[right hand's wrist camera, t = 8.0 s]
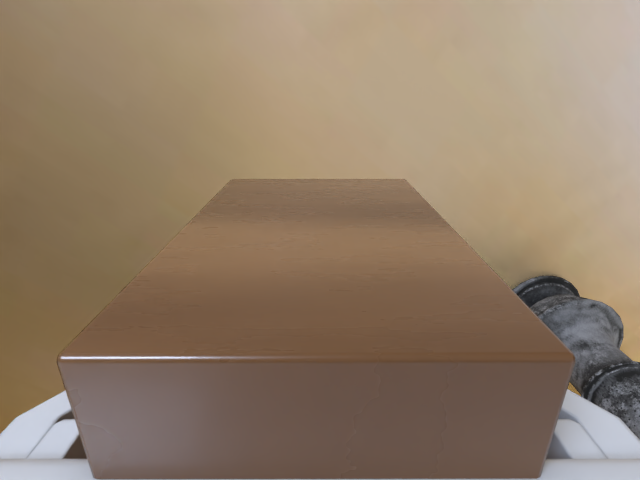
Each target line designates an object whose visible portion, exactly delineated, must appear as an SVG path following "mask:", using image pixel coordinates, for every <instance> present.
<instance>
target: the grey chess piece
mask: <svg viewBox="0 0 640 480" xmlns="http://www.w3.org/2000/svg"><path fill="white" fill-rule="evenodd" d="M513 291H514V292H515V293H516V294H517V296H518V297H519V298H520V299H521V300H522V301H523V302H524V303H525V304H526V305H527V306H528V307H529V308H530V309H531V310H532V311H533V312H534V313H535V314H536V315H537V316H538V317H539V318H540V319H541V320H542V321H543V322H544V323H545V325H546V326H547V327H548V328H549V329H550V330H551V331H552V332H553V333H554V334H555V335H556V336H557V337H558V338H559V339H560V340H561V341H562V342H563V343H564V344H565V345H566V346H567V347H568V348H569V349H570V350H571V351H572V352H573V354H574V356H575V361H576V362H575V365H574V368H573V372H572V375H571V378H570V383H571V384H572V385H573V386H574V387H575V388H576V390H577V391H578V392H579V393H580V394H581V397H583V398H584V399H586V400H588V401H590V402H592V403H593V404H595V405H597V406H599V407H601V408H602V409H604V410H606V411H608V412H610V413H611V414H613V415H615V416H617V417H619V418H620V419H621V420H622V421H623V422H624V423H625V424H626V425H627V427H628V428H629V429H630V430H631V431H632V432H633V433H634V434H635V435H636V436H637V438H638V439H639V440H640V362H635V361H632V360H631V359H630V358H629V357H628V356H626V355H625V354H624V353H623V352H622V351H621V350H620V346H621V343H622V340H623V324H622V321H621V318H620V316H619V315H618V314H617V313H616V312H615V311H614V309H613V308H611V307H610V306H608V305H606V304H604V303H602V302H599V301H595V300H591V299H587V298H582V297H580V296H579V293H578V291H577V289H576V288H575V287H574V286H573V285H572V284H571V283H570V282H568V281H566V280H565V279H563V278H560V277H555V276H540V277H536V278H531V279H529V280H527V281H525V282H523V283H521V284H519V285H518V286H517V287H516V288H514V289H513Z"/></svg>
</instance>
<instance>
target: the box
mask: <svg viewBox="0 0 640 480" xmlns="http://www.w3.org/2000/svg"><path fill="white" fill-rule="evenodd" d="M575 362H576V361H575V356H574V354H573V352H572V351H571V350H570V349H569V348H568V347H567V346H566V345H565V344H564V343H563V342H562V341H561V340H560V339H559V338H558V337H557V336H556V335H555V334H554V333H553V332H552V331H551V330H550V329H549V328H548V327H547V326H546V325H545V323H544V322H543V321H542V320H541V319H540V318H539V317H538V316H537V315H536V314H535V313H534V312H533V311H532V310H531V309H530V308H529V307H528V306H527V305H526V304H525V303H524V302H523V301H522V300H521V299H520V298H519V297H518V296H517V294H516V293H515V292H514V291H513V290H512V289H511V288H510V287H509V286H508V285H507V284H506V283H505V282H504V281H503V280H502V279H501V278H500V277H499V276H498V275H497V274H496V273H495V272H494V271H493V270H492V269H491V268H490V267H489V266H488V264H487V263H486V262H485V261H484V260H483V259H482V258H481V257H480V256H479V255H478V254H477V253H476V252H475V251H474V250H473V249H472V248H471V247H470V246H469V245H468V244H467V243H466V242H465V241H464V240H463V239H462V238H461V237H460V235H459V234H458V233H457V232H456V231H455V230H454V229H453V228H452V227H451V226H450V225H449V224H448V223H447V222H446V221H445V220H444V219H443V218H442V217H441V216H440V215H439V214H438V213H437V212H436V211H435V210H434V209H433V208H432V207H431V205H430V204H429V203H428V202H427V201H426V200H425V199H424V198H423V197H422V196H421V195H420V194H419V193H418V192H417V191H416V190H415V189H414V188H413V187H412V186H411V185H410V184H409V183H408V182H407V181H406V180H405V179H232V180H230V181H229V182H228V183H227V184H226V185H225V186H224V187H223V188H222V189H221V190H220V191H219V192H218V193H217V194H216V195H215V196H214V197H213V198H212V200H211V201H210V202H209V203H208V204H207V205H206V206H205V207H204V208H203V209H202V210H201V211H200V212H199V213H198V214H197V215H196V216H195V217H194V218H193V219H192V220H191V221H190V222H189V223H188V224H187V225H186V226H185V227H184V228H183V229H182V230H181V231H180V232H179V233H178V234H177V235H176V236H175V237H174V238H173V239H172V240H171V241H170V242H169V243H168V244H167V245H166V246H165V247H164V248H163V249H162V250H161V251H160V252H159V253H158V254H157V255H156V256H155V257H154V258H153V259H152V260H151V261H150V262H149V263H148V264H147V265H146V266H145V267H144V269H143V270H142V271H141V272H140V273H139V274H138V275H137V276H136V277H135V278H134V279H133V280H132V281H131V282H130V283H129V284H128V285H127V286H126V287H125V288H124V289H123V290H122V291H121V292H120V293H119V294H118V295H117V296H116V297H115V298H114V299H113V300H112V301H111V302H110V303H109V304H108V305H107V306H106V307H105V308H104V309H103V310H102V311H101V312H100V313H99V314H98V315H97V316H96V317H95V318H94V319H93V320H92V321H91V322H90V323H89V324H88V325H87V326H86V327H85V328H84V329H83V330H82V331H81V332H80V333H79V334H78V335H77V336H76V338H75V339H74V340H73V341H72V342H71V343H70V344H69V345H68V346H67V347H66V348H65V349H64V350H63V351H62V352H61V353H60V354H59V355H58V358H57V365H58V368H59V371H60V374H61V377H62V381H63V384H64V387H65V390H66V393H67V396H68V400H69V403H70V406H71V409H72V412H73V416H74V419H75V422H76V425H77V428H78V431H79V435H80V438H81V441H82V444H83V447H84V450H85V454H86V457H87V460H88V463H89V466H90V469H91V473H92V476H93V478H95V479H537V478H539V477H541V473H542V470H543V467H544V464H545V460H546V457H547V454H548V450H549V447H550V444H551V441H552V437H553V434H554V431H555V427H556V424H557V421H558V418H559V414H560V411H561V408H562V404H563V401H564V398H565V395H566V391H567V388H568V385H569V382H570V378H571V375H572V372H573V368H574V365H575Z"/></svg>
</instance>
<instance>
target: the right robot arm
mask: <svg viewBox="0 0 640 480" xmlns="http://www.w3.org/2000/svg"><path fill="white" fill-rule="evenodd" d="M0 480H640V440H639V439H638V438H637V436H636V435H635V434H634V433H633V432H632V431H631V430H630V429H629V428H628V427H627V425H626V424H625V423H624V422H623V421H622V420H621V419H620V418H619V417H617V416H615V415H613V414H611V413H610V412H608V411H606V410H604V409H602V408H601V407H599V406H597V405H595V404H593V403H592V402H590V401H588V400H586V399H584V398H583V397H581V396H579V395H577V394H575V393H574V392H572V391H570V390H568V389H567V391H566V395H565V398H564V401H563V404H562V408H561V411H560V414H559V418H558V421H557V424H556V427H555V431H554V434H553V437H552V441H551V444H550V447H549V450H548V454H547V457H546V460H545V464H544V467H543V470H542V473H541V477H539V478H537V479H95V478H93V476H92V473H91V469H90V466H89V463H88V460H87V457H86V454H85V450H84V447H83V444H82V441H81V438H80V435H79V431H78V428H77V425H76V422H75V419H74V416H73V412H72V409H71V406H70V403H69V400H68V396H67V393H66V390H65V391H63V392H62V393H60V394H58V395H56V396H54V397H52V398H51V399H49V400H47V401H45V402H43V403H41V404H40V405H38V406H36V407H34V408H32V409H30V410H29V411H27V412H25V413H23V414H21V415H19V416H18V417H16V418H15V419H14V420H13V421H12V422H11V423H10V424H9V425H8V426H7V428H6V429H5V430H4V431H3V432H2V433H1V434H0Z"/></svg>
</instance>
